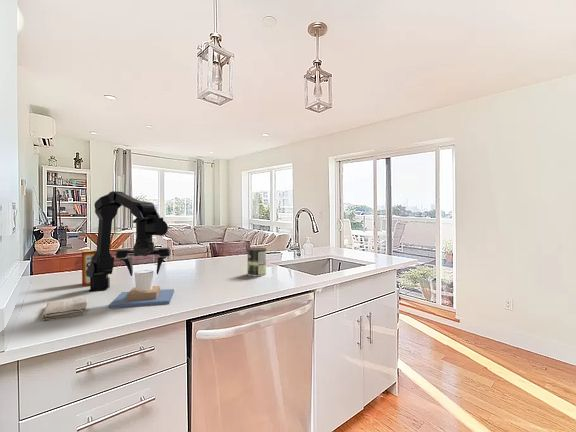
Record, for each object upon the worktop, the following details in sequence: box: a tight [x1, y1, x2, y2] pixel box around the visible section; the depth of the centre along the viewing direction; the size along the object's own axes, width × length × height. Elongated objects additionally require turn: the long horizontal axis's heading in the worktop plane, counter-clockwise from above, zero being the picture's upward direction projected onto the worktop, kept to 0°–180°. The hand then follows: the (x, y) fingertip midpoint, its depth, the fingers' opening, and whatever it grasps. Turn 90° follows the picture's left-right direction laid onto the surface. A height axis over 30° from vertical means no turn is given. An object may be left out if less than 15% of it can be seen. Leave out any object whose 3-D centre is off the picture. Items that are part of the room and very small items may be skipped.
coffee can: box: [246, 247, 267, 277], centre depth 168 cm, size 10×10×14 cm
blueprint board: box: [108, 285, 175, 309], centre depth 120 cm, size 20×18×4 cm
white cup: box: [134, 269, 155, 292], centre depth 120 cm, size 7×7×7 cm
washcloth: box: [41, 296, 87, 322], centre depth 106 cm, size 12×18×3 cm, turn 34°
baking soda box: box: [81, 249, 97, 287], centre depth 146 cm, size 10×6×16 cm
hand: (144, 274), depth 120 cm, fingers open, 9 cm apart
